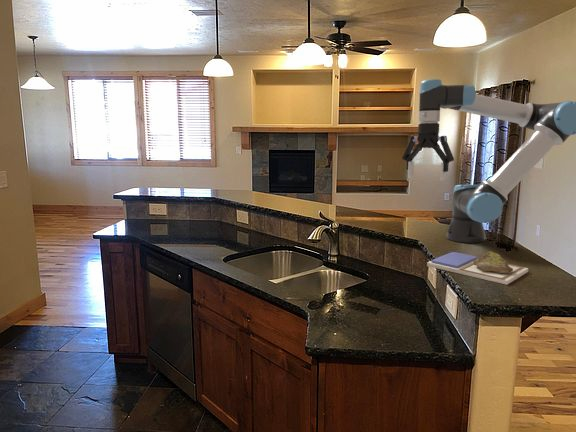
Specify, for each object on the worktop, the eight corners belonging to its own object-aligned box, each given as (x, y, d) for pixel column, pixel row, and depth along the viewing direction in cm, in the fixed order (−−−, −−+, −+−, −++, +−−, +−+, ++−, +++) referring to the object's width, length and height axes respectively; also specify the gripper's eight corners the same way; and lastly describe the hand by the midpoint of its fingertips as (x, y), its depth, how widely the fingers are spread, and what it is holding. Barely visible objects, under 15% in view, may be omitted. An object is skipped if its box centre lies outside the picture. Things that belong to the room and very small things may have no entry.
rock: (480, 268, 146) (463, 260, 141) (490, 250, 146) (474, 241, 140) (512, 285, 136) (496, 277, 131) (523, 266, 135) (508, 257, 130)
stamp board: (451, 255, 158) (451, 250, 158) (527, 271, 139) (528, 265, 139) (426, 265, 147) (427, 260, 146) (507, 284, 128) (507, 278, 128)
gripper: (394, 123, 168) (392, 177, 173) (456, 121, 150) (452, 182, 155) (405, 123, 173) (403, 176, 178) (466, 121, 155) (462, 180, 160)
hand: (426, 179), depth 166 cm, fingers open, 13 cm apart
